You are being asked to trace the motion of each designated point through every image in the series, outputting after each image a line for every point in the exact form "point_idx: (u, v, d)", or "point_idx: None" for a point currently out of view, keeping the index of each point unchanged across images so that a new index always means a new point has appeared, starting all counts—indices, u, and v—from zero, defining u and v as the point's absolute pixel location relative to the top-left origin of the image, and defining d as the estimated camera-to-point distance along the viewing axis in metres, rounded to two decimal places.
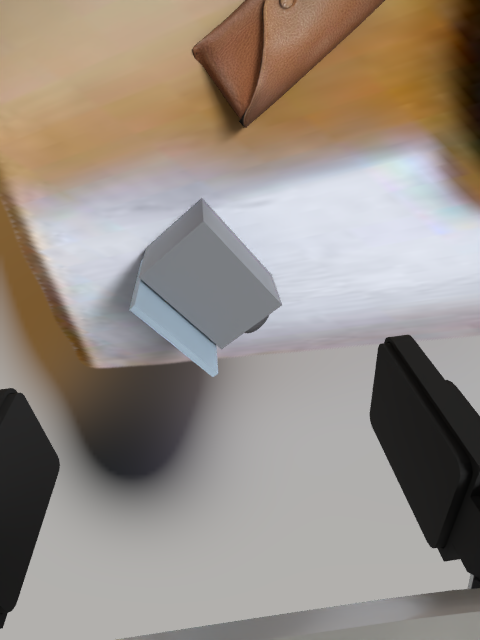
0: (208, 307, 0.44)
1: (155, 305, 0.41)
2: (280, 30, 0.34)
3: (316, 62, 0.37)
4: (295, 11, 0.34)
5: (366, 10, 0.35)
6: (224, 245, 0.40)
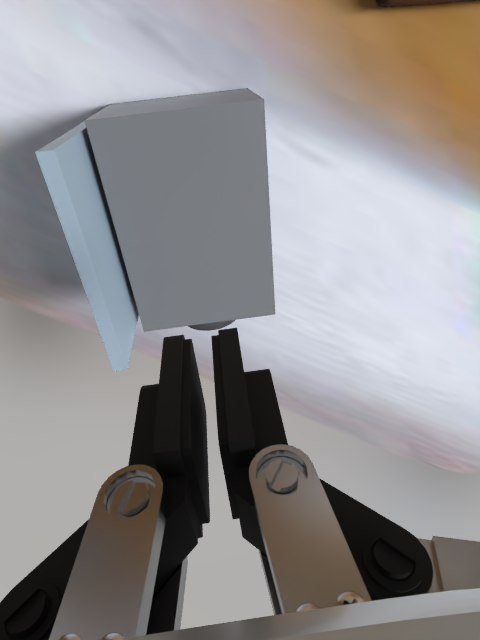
0: (169, 252, 0.24)
1: (86, 189, 0.20)
2: None
3: None
4: None
5: None
6: (265, 167, 0.22)
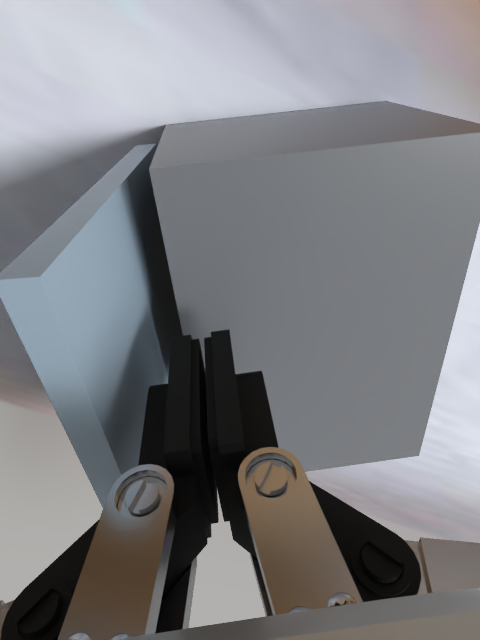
0: (272, 381, 0.14)
1: (118, 310, 0.10)
2: None
3: None
4: None
5: None
6: (468, 249, 0.12)
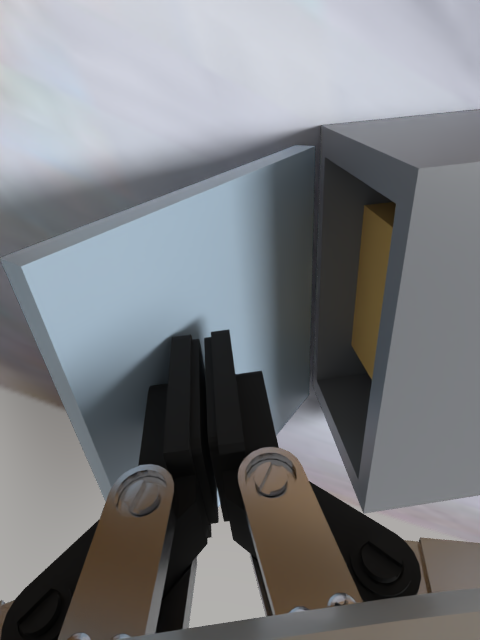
0: (463, 403, 0.13)
1: (155, 310, 0.10)
2: None
3: None
4: None
5: None
6: None
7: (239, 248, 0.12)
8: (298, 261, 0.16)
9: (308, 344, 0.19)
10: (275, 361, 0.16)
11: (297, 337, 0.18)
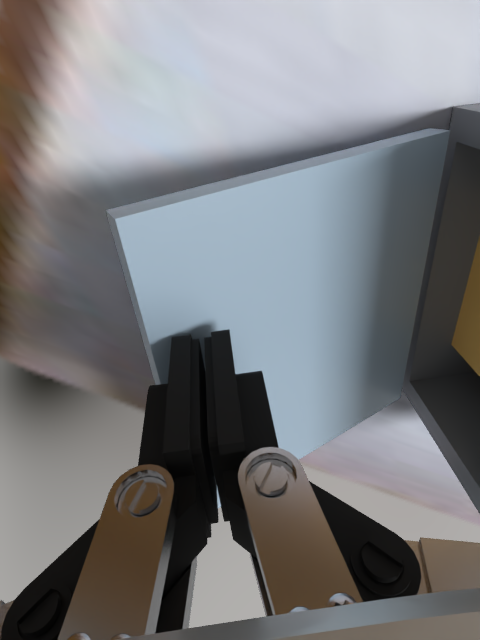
0: None
1: (231, 277, 0.11)
2: None
3: None
4: None
5: None
6: None
7: (332, 231, 0.12)
8: (406, 254, 0.15)
9: (407, 345, 0.18)
10: (361, 353, 0.16)
11: (393, 335, 0.17)
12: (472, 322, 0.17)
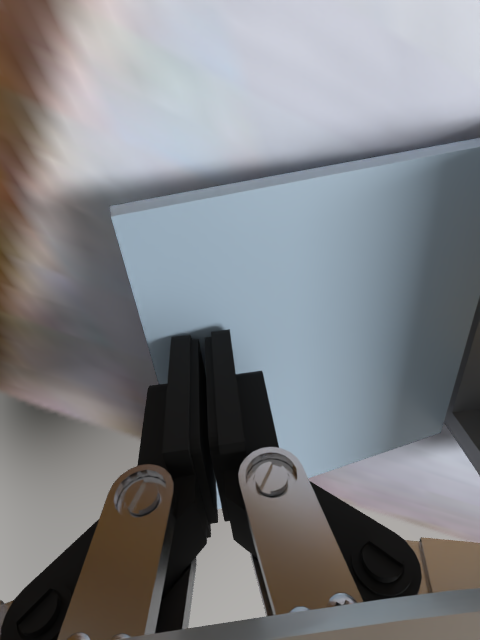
0: None
1: (237, 283, 0.11)
2: None
3: None
4: None
5: None
6: None
7: (359, 245, 0.11)
8: (456, 277, 0.13)
9: (452, 377, 0.16)
10: (392, 379, 0.15)
11: (434, 363, 0.15)
12: None
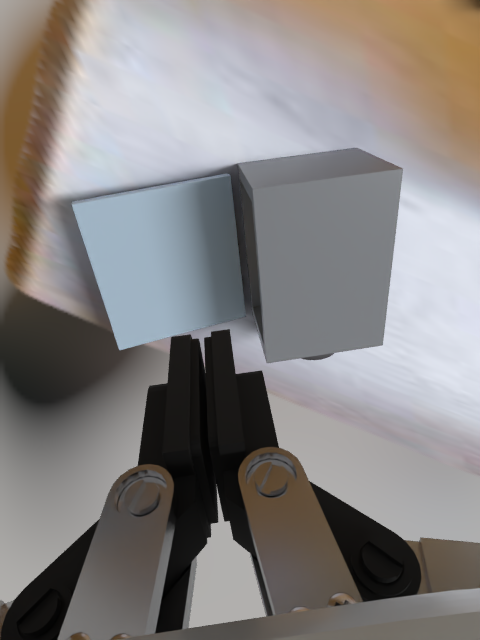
0: (301, 295, 0.27)
1: (121, 230, 0.28)
2: None
3: None
4: None
5: None
6: (394, 222, 0.25)
7: (170, 216, 0.29)
8: (221, 231, 0.31)
9: (239, 283, 0.33)
10: (205, 281, 0.32)
11: (226, 274, 0.33)
12: None
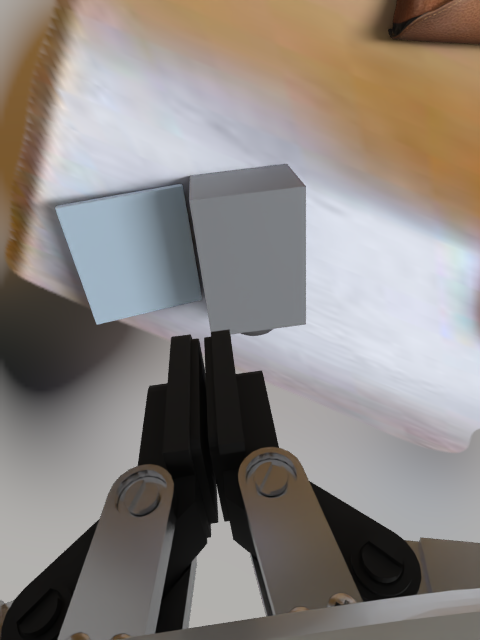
0: (235, 282, 0.35)
1: (95, 228, 0.36)
2: None
3: None
4: None
5: None
6: (304, 226, 0.33)
7: (134, 218, 0.36)
8: (177, 230, 0.38)
9: (195, 272, 0.41)
10: (166, 269, 0.40)
11: (183, 264, 0.40)
12: None
